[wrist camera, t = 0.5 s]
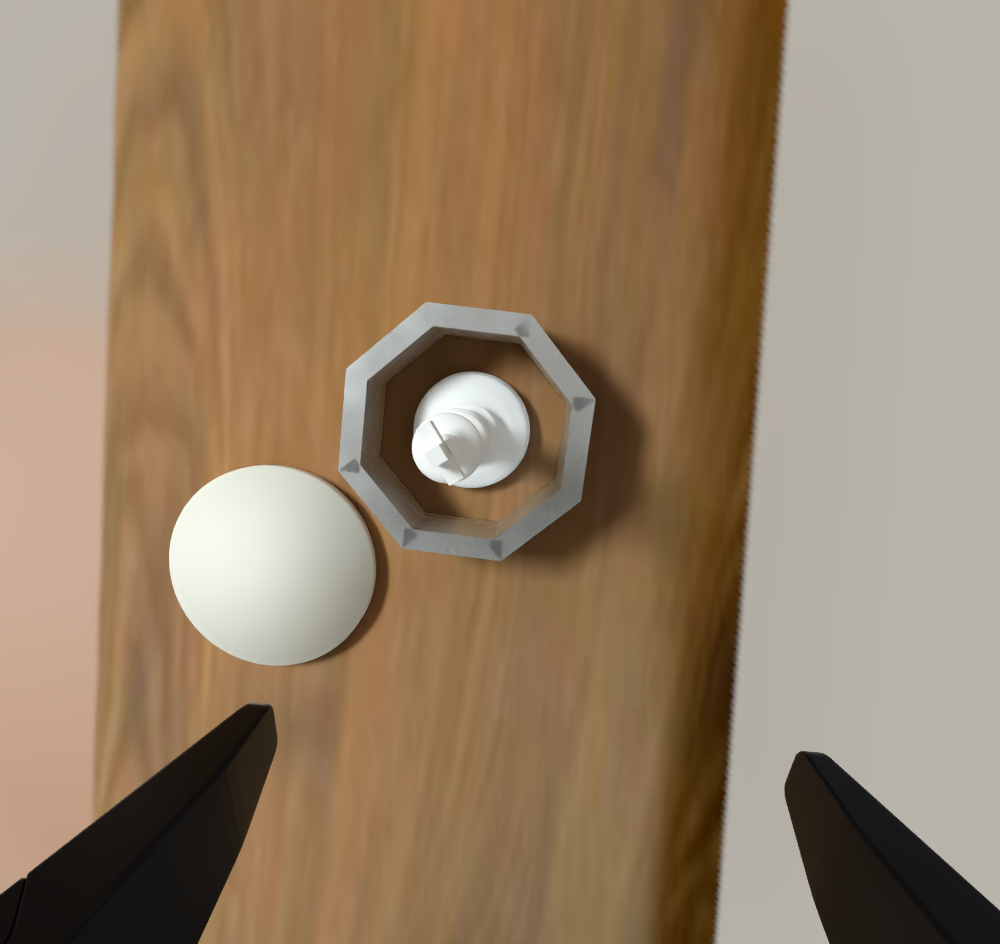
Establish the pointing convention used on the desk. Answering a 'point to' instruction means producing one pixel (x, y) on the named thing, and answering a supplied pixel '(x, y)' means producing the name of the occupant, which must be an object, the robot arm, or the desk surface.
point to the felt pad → (272, 564)
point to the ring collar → (388, 491)
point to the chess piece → (470, 430)
